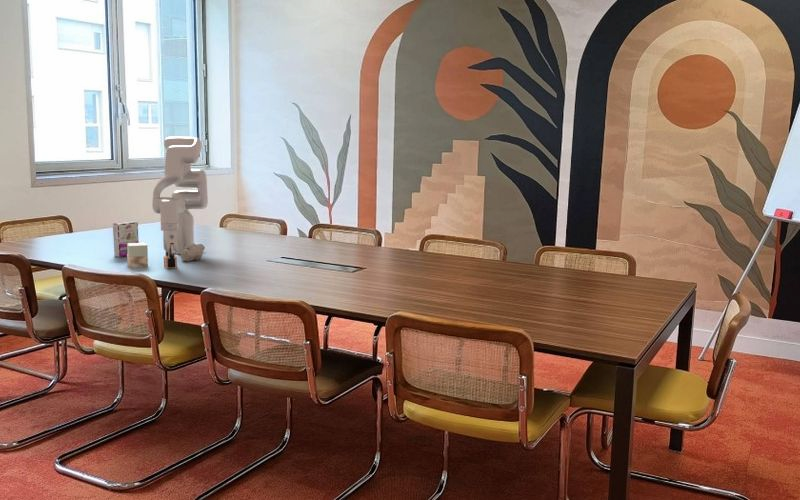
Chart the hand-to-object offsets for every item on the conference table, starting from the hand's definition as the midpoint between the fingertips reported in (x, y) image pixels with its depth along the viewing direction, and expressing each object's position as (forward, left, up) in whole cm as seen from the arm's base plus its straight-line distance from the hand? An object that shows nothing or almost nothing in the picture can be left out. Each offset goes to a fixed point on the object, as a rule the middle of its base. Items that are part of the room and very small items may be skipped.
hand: (170, 265), depth 357 cm
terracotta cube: (0, 0, -1) cm, 1 cm away
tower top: (+13, -10, +4) cm, 17 cm away
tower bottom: (+13, -10, -1) cm, 16 cm away
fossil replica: (-13, -15, -1) cm, 20 cm away
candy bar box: (+14, -38, -1) cm, 41 cm away
